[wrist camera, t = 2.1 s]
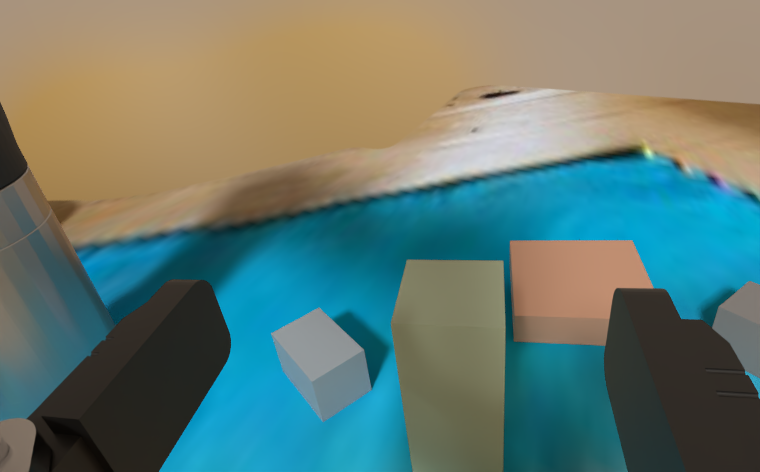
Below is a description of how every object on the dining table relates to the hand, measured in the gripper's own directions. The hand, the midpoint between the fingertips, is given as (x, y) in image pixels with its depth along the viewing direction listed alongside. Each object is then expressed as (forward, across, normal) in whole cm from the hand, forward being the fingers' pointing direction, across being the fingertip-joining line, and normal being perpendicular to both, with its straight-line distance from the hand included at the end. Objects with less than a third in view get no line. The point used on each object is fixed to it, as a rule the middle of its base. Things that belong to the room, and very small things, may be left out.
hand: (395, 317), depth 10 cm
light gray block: (+16, +10, +20) cm, 27 cm away
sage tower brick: (+12, 0, +20) cm, 23 cm away
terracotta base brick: (+26, -8, +20) cm, 34 cm away
